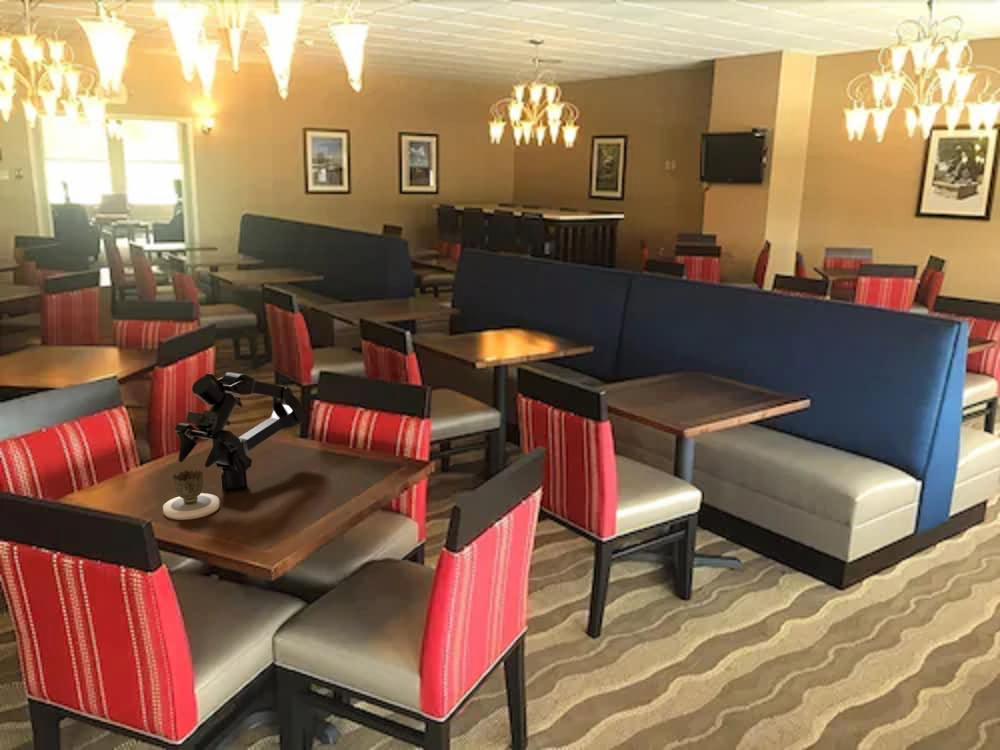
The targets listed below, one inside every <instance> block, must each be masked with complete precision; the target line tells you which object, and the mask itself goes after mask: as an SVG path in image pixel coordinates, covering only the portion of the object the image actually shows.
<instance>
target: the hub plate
mask: <svg viewBox="0 0 1000 750" xmlns="http://www.w3.org/2000/svg"><path fill="white" fill-rule="evenodd" d="M197 497H198V500H197V502H196V503H193V504H185V503H184V502H183V498H181V497H180V496H179V495H178V496H177V497H173V498H171V499H170V500H168V501H166V502H165V503H164V504H163V505H162V513H163V515H164V516H165V517H166V518H168V519H171V520H179V521H180V520H182V521H183V520H184V521H185V520H186V521H187V520H194V519H199V518H204V517H207V516H208V515H209V516H210V515H211V514H213V513H215V512H216V511H218V509H220V499H219V497H218V496H217V495H214V494H211V493H206V492H205V493H203V492H201V493H200V495H199V496H197Z"/></svg>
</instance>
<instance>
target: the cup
mask: <svg viewBox="0 0 1000 750" xmlns="http://www.w3.org/2000/svg"><path fill="white" fill-rule="evenodd" d="M172 479H173V483H174V487H175V491H176V493H177V496H178V497H179V496H180V497H181V498H183V502H184V503H185V504H193V503H196V502H197V500H198V497H197V496H199V495H200V493H202V491H203V483H204V481H203V480H204V472H203V471H201V470H198V469H196V470H193V469H191V470H190V471H189V470H187V469H184V470H183V471H179V472H178V474H172Z"/></svg>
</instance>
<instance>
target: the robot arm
mask: <svg viewBox="0 0 1000 750" xmlns="http://www.w3.org/2000/svg"><path fill="white" fill-rule="evenodd" d="M191 390H192V393H193V394H194V395H195V396H196V397H198V398H199V399H201V401H203V402H204V403H205V404H206V405H211V406H210V407H209V409H208V410H203V411H202V413H201V412H197V411H196V412H195V411H191V410H190V411H189V410H188V411H187V414H186V417H185V423H184V422H181V423H180V422H179V423H178V424H176V426H175V428H174V430H173V431H174V432H175V433H176V436H177V437H179V440H180V441H179V442H180V443H179V445H180V447H179V453H178V458H177V459H178V462H179V463H183V461H185V460H186V458H188V457H189V455H190V454H191V452H192V451H193V449H194V448H195V447H196V446H197V445H198V443H197V442H198V441H199V440H200V439H205V440H210V441H212V447H211V450H210V452H209V454H208V455H207V458H206V460H205V462H204V467H205V468H209V467H210V466H212V465H213V464H214V463H215V465H216V467H217V468H221V469H222V470H221V471H220V473H219V474H220V475H219V476H220V482H221V483H220V484H221V489H222V490H223V492H224V493H225V494H226V493H234V492H241V491H248V490H249V484H248V477H247V475H248V474H247V470H248V469H250V468H251V467H252V462H253V459H251V458H250V457H249V455H248V454H249V452H250V451H251V450H252V449H254V448H256V447H257V446H259V445H261V444H262V443H263V442H265V441H267V440H268V439H270V438H271V437H272V436H274V435H275V434H277V433H279V432H280V431H282V430H284V429H291V428H294V427H296V426H299V425H301V424H302V423H303V422H304V419H305V417H306V414H305V410H304V408H303V405H302V403H301V401H300V400H299V399H298V398H297V397H296V396H295V395H294V394H293V392H292V390H291V388H290V387H289V386H287V385H281V384H273V383H267V382H262V381H258V380H256V379H255V378H254V377H252V376H250V375H248V374H245V373H240V372H231V371H229V372H228V371H227V372H225V374H224V375H223V376H221V377H220V378H218V379H217V377H216V376H215V375H214V374H213V373H209V372H205V375H204V376H201V377H200V378H199V379H197V380H196V381H194V382H193V384H192V388H191ZM233 394H235V395H241V396H247V395H253V394H257V395H262V396H268V397H271V398H272V404H271V405H272V409H273V411H272V413H271V416H270V417H269V418H267V419H265V420H264V421H262V422H261V423H259V424H258V425H256V426H254V427H253V428H251V429H250V430H248V431H247V432H245V433H243V434H242V435H241V436H239V437H238V436H237V435H235V433H233V432H232V431H230V430H224V429H225V428H226V426H228V427H229V426H230V424H231V421H230V420H229V419H230V418H231V416H232V413H233V411H234V409H235V408H243V403H242V401H241V398H240V397H238V396H237V397H236V396H235V395H233ZM282 400H283V401H284V402H285V403H283V401H282ZM191 424H193V425H194V426H193V425H191Z"/></svg>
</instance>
